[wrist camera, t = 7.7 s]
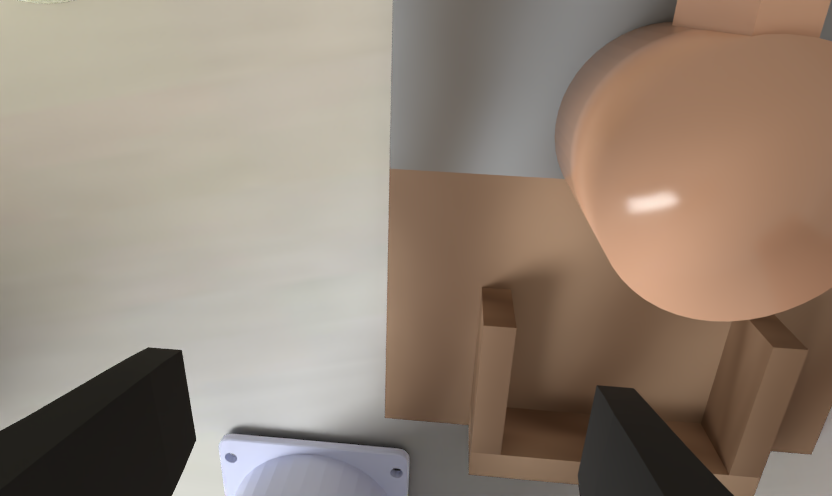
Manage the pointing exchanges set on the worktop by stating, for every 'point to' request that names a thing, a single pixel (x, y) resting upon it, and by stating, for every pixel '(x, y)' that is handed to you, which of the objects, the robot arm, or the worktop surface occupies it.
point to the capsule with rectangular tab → (709, 156)
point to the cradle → (553, 265)
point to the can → (47, 1)
